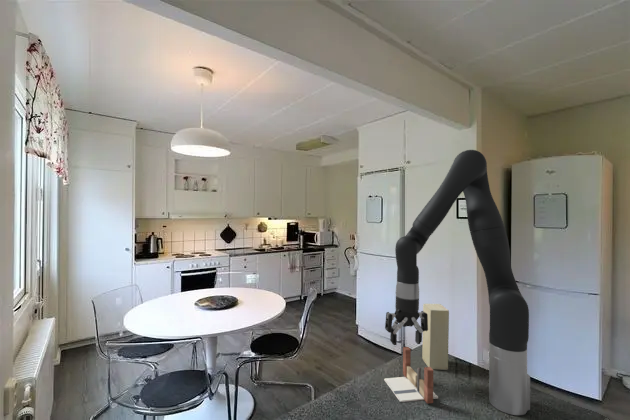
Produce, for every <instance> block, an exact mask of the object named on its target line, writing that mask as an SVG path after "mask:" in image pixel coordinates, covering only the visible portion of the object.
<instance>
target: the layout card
mask: <svg viewBox="0 0 630 420" xmlns="http://www.w3.org/2000/svg"><path fill="white" fill-rule="evenodd" d="M383 380H384V382H385V383H386V384H387V386H388V387H389V389H390V390H391V391H392V393H393V394H394V395H395V397H396V398H397V399H398V401H399V402H400V403H404V402H405V403H406V402H416V401H417V402H418V401H425V400H424V397H423V396H422V395H421V394H420V393H419V391H418V390H417V387H415V386H414V385H413V384H412V383H411V381H410V380H409V379H408V378H407V377H405V376H400V377H397V376H396V377H387V378H383ZM434 399H435V400H436V399H437V400H438V399H439V396H438V395H437V394H436V393H435V392H434V391H433V400H434Z"/></svg>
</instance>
